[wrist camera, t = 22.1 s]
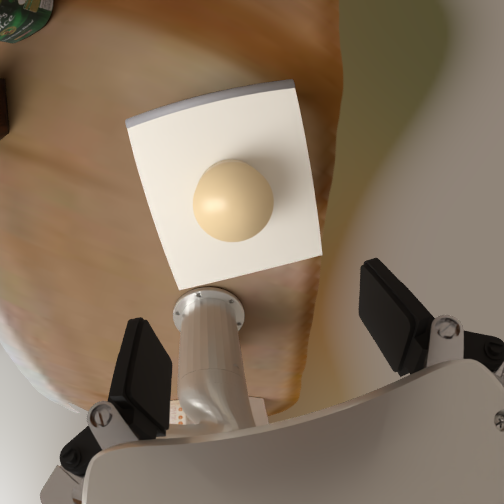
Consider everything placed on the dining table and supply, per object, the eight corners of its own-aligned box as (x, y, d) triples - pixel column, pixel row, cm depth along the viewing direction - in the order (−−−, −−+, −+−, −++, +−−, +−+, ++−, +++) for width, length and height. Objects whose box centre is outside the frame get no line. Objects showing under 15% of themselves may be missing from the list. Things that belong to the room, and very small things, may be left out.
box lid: (319, 250, 30) (322, 255, 29) (180, 285, 30) (179, 290, 29) (289, 80, 22) (293, 78, 21) (128, 119, 22) (124, 118, 21)
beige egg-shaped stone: (270, 216, 27) (280, 231, 23) (206, 232, 27) (205, 250, 22) (256, 152, 24) (265, 155, 20) (189, 169, 24) (183, 175, 20)
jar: (264, 408, 68) (271, 444, 57) (235, 412, 67) (240, 449, 56) (264, 393, 63) (272, 433, 53) (232, 397, 62) (237, 438, 52)
